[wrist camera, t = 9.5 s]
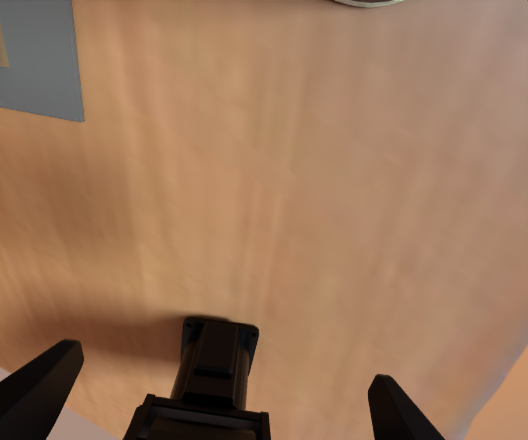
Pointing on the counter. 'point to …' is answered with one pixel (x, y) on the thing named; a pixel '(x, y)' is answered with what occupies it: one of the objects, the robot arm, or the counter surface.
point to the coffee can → (369, 3)
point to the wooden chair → (3, 51)
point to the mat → (40, 59)
